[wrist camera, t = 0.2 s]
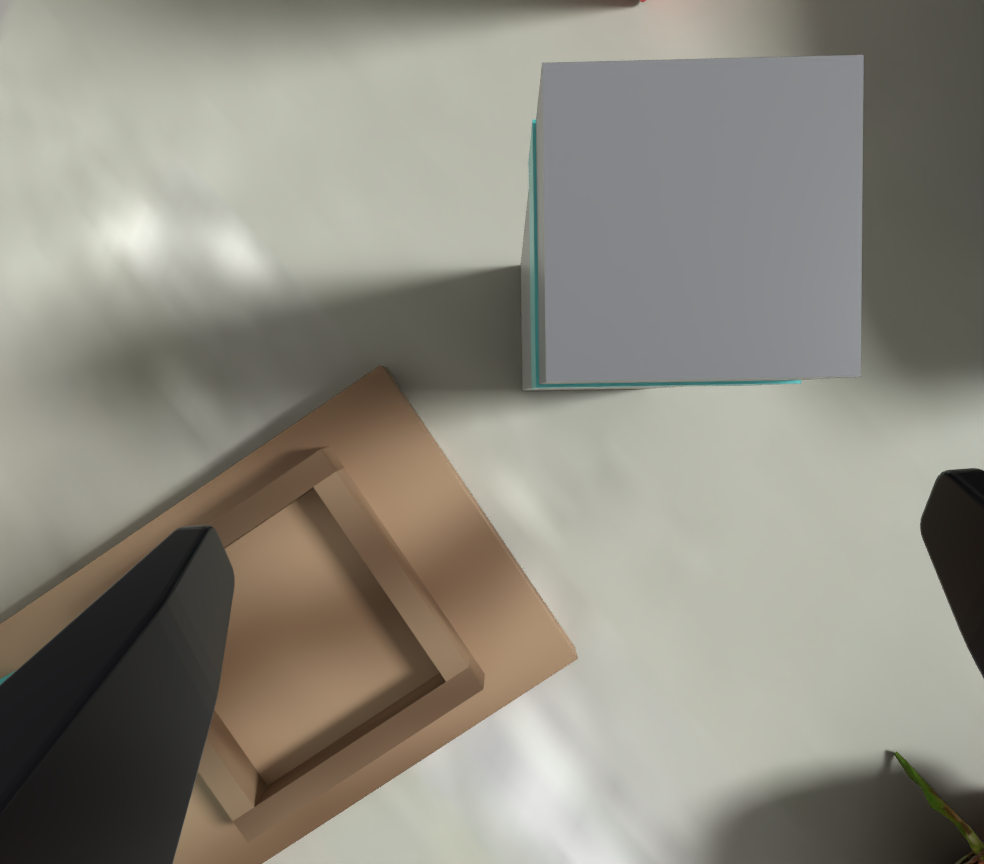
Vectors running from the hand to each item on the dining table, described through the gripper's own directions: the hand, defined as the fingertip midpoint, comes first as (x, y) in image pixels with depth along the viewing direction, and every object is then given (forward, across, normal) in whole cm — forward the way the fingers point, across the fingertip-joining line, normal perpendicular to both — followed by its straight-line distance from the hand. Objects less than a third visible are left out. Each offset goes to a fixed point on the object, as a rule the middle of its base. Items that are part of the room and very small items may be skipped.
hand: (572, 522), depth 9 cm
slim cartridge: (+14, -2, +5) cm, 15 cm away
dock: (+8, +10, +13) cm, 18 cm away
